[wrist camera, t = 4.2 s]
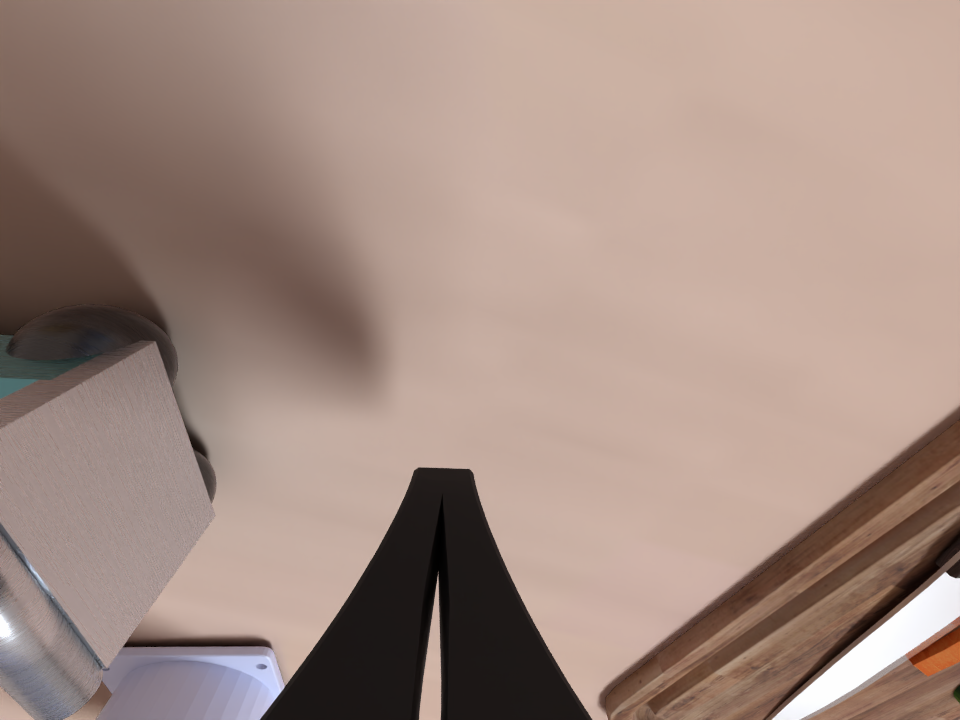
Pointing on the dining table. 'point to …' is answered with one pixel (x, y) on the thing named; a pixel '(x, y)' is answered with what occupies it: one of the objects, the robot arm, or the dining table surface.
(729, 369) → the dining table surface
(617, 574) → the dining table surface
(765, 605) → the chopping board
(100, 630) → the trolley
